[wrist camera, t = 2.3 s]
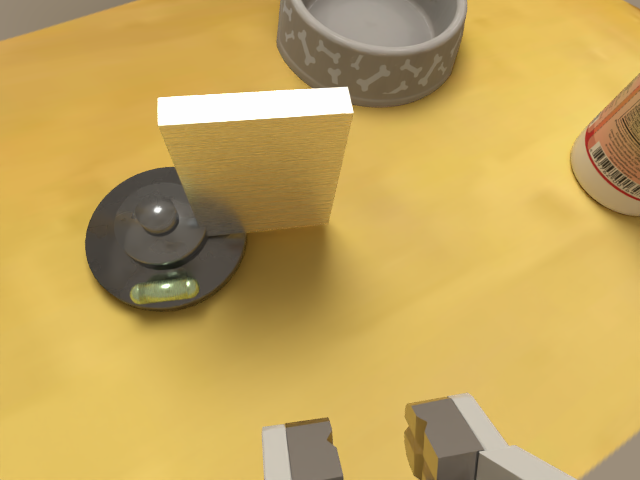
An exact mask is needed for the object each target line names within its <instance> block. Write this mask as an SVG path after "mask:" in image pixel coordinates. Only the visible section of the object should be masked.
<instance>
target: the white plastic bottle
mask: <svg viewBox="0 0 640 480" xmlns="http://www.w3.org/2000/svg"><path fill="white" fill-rule="evenodd" d="M571 166H572V169H573V172H574V174H575V177H576V178H577V180H578V182H579V183H580V185H581V186H582V187H583V189H584V190H585V191H586V192H587V193H588V194H589V195H590V196H591V197H592V198H593V199H595V200H596V201H597V202H599V203H600V204H602V205H603V206H605V207H607V208H609V209H611V210H613V211H616V212H619V213H622V214H626V215H631V216H640V73H639V74H638V75H637V76H636V77H635V78H634V79H633V80H632V81H631V82H630V83H629V84H628V85H627V86H626V87H625V88H624V89H623V90H622V91H621V92H620V93H619V94H618V95H617V96H616V97H615V98H614V99H613V100H612V101H611V102H610V103H609V104H608V105H607V106H606V107H605V108H604V109H603V110H602V111H601V112H600V113H599V114H598V115H597V116H596V117H595V118H594V119H593V120H592V121H591V122H590V123H589V124H588V125H587V126H586V127H585V128H584V129H583V131H582V132H581V133H580V134H579V136H578V137H577V139H576V140H575V142H574V144H573V147H572V150H571Z"/></svg>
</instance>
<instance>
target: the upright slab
mask: <svg viewBox="0 0 640 480" xmlns="http://www.w3.org/2000/svg"><path fill="white" fill-rule="evenodd" d="M353 113H354V112H353V108H352V104H351V99H350V95H349V91H348V87H338V88H321V89H303V90H286V91H269V92H251V93H234V94H216V95H199V96H181V97H164V98H158V127H159V129H160V131H161V134H162V136H163V139H164V141H165V144H166V146H167V149H168V151H169V154H170V156H171V159H172V161H173V164H174V166H175V169H176V171H177V174H178V176H179V178H180V181H181V183H182V185H179V184H175V183H167V182H166V183H155V184H151V185H147V186H145V187H142V188H140V189H138V190H137V191H135V192H133V193H132V194H131V195H130V196H128V197H127V198H126V199H125V200H124V202H123V203H122V204H121V206H120V207H119V209H118V211H117V214H116V217H115V221H114V232H115V237H116V239H117V242H118V243H119V245H120V246H121V248H122V249H123V250H124V251H125V252H126V253H127V255H128V256H129V257H130V258H131V259H132V260H133V261H134V262H136V263H137V264H139V265H141V266H143V267H145V268H148V269H153V270H170V269H174V268H178V267H180V266H183V265H185V264H187V263H188V262H190V261H191V260H193V259H194V258H195V257H196V256H197V255H198V254H199V253H200V252H201V251H202V249H203V248H204V246H205V245H206V242H207V240H208V237H209V236H216V235H226V234H236V233H245V232H255V231H265V230H275V229H284V228H294V227H304V226H314V225H324V224H328V223H329V219H330V214H331V210H332V206H333V201H334V197H335V192H336V188H337V184H338V179H339V175H340V170H341V166H342V161H343V157H344V153H345V148H346V144H347V139H348V135H349V131H350V126H351V122H352V117H353Z"/></svg>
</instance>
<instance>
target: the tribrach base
mask: <svg viewBox="0 0 640 480" xmlns="http://www.w3.org/2000/svg"><path fill="white" fill-rule="evenodd" d="M166 182H167V183H175V184H179V185H182V183H181V181H180V178H179V176H178V174H177V171H176V169H175V167H165V168H157V169H153V170H149V171H145V172H143V173H140V174H137V175H135V176H133V177H131V178H129V179H127V180H126V181H124V182H122V183H121V184H119V185H118V186H117V187H115V188H114V189H113V190H112V191H111V192H110V193H109V194H107V195H106V196H105V198H104V199H103V200H102V201H101V202H100V204H99V205H98V207H97V208H96V210H95V211H94V213H93V215H92V217H91V220H90V222H89V225H88V229H87V233H86V240H85V250H86V256H87V261H88V264H89V267H90V269H91V271H92V273H93V275H94V276H95V278H96V279H97V280H98V282H99V283H100V284H101V285H102V286H103V287H104V288H105V289H106V290H107V291H108V292H109V293H111V294H112V295H113V296H115V297H116V298H117V299H119V300H120V301H122V302H124V303H126V304H128V305H130V306H133V307H136V308H139V309H143V310H148V311H160V312H161V311H174V310H179V309H184V308H187V307H190V306H193V305H195V304H198V303H200V302H202V301H204V300H206V299H207V298H209V297H211V296H212V295H214V294H215V293H216V292H218V291H219V290H220V289H221V288H222V287H223V286H224V285H225V284H226V283H227V282H228V281H229V280H230V279H231V277H232V276H233V275H234V273H235V272H236V270H237V268H238V267H239V265H240V263H241V260H242V258H243V255H244V251H245V247H246V240H247V235H246V232H245V233H236V234H226V235H216V236H209V237H208V240H207V242H206V245H205V246H204V248H203V249H202V251H201V252H200V253H199V254H198V255H197V256H196V257H195V258H194V259H193V260H191V261H190V262H188V263H187V264H185V265H183V266H180V267H178V268H174V269H170V270H153V269H148V268H145V267H143V266H141V265H139V264H137V263H136V262H134V261H133V260H132V259H131V258H130V257H129V256H128V255H127V253H126V252H125V251H124V250H123V249H122V248H121V246H120V245H119V243H118V242H117V239H116V237H115V232H114V221H115V217H116V214H117V211H118V209H119V207H120V206H121V204H122V203H123V202H124V200H125V199H126V198H127V197H128V196H130V195H131V194H132V193H133V192H135V191H137V190H138V189H140V188H142V187H145V186H147V185H151V184H155V183H166Z"/></svg>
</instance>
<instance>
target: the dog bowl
mask: <svg viewBox="0 0 640 480" xmlns="http://www.w3.org/2000/svg"><path fill="white" fill-rule="evenodd" d="M466 13H467V0H281V1H280V11H279V24H278V33H277V48H278V50H279V52H280V54H281V56H282V58H283V60H284V61H285V63H286V64H287V65H288V66H289V68H290V69H291V70H292V71H293V72H294V73H295V74H296V75H297V76H298V77H299V78H300V79H301V80H303V81H304V82H305V83H306V84H308V85H309V86H311V87H312V88H313V89H321V88H338V87H348V91H349V95H350V99H351V104H353V105H358V106H364V107H393V106H399V105H404V104H408V103H411V102H414V101H416V100H419V99H421V98H423V97H425V96H427V95H429V94H431V93H432V92H434V91H435V90H436V89H438V88H439V87H440V86H441V85H442V84H443V83H444V82H445V81H446V80H447V79H448V77H449V76H450V74H451V72H452V68H453V65H454V62H455V59H456V55H457V52H458V49H459V46H460V43H461V39H462V35H463V30H464V23H465V18H466Z"/></svg>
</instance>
